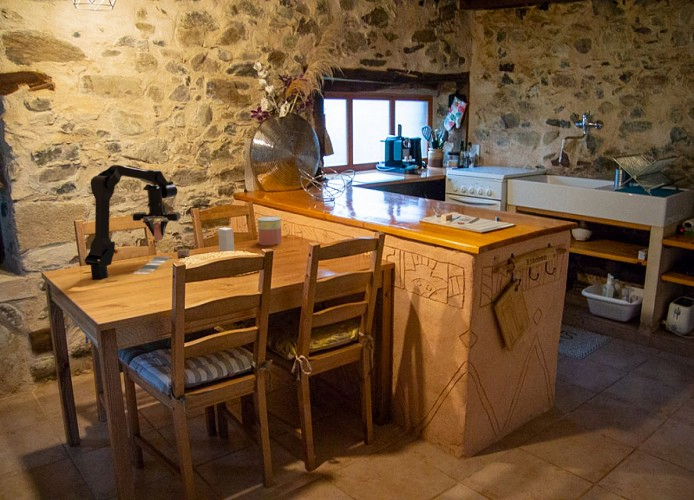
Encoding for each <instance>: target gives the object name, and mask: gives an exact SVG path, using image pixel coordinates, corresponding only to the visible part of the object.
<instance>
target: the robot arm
mask: <svg viewBox="0 0 694 500" xmlns="http://www.w3.org/2000/svg"><path fill="white" fill-rule="evenodd" d="M122 177H126V178H132V179H137V180H140V181H141V182H143V183H146V185H145V186H144V187H143V188H142V190H143V191H147V201H148V202H147V206H148V213H147V212H146V211H138V212H135V213H134V214H133V215H132V221H135V222H138V221H141V220H142V223H144V224H145V225H146V227H147V228H148V230H149V231H150V233H151V235H152V237H154V223H155V219H161V221H160V222H159V223H161V234H162V236H163V237H164V235H165V232H166V229H167V226H168V223H169V222H173V221H179V220H180V219H181V213H180V212H179V211H170V212H168V211H169V209H168V208H169V207H168V205H165V202H164V201H163V199H168V198H174V197H176V196H177V195H178V189H177V186H176V185H175V184H174V181H171V180H169V181H167V179H166V178H165V176H164V174H163V172H162V171H161V170H157V169H140V168H139V169H138V168H134V167H129V166H123V165H120V164H112V165H110V166H109V167H108V168H107V169H105V170H103V171H101V172H99V173H98V174H97V175H95V176H93V177H92V178H91V179H90V189H91V193H92V195H93V197H94V198H95V212H94V213H95V214H94V215H95V216H94V217H95V218H94V219H95V222H94V227H95V228H94V229H95V231H94V237H93V240H92V242H91V243H90V249H89V252H88V253H87V255H86V257H85V259H84V264H85V265H86V266H90V271H91V272H90V273H91V279H92V281H101V280H105V279H107V278H109V273H108V266H111V265H112V262H113V257H114V254H115V253H116V250H115V248H116V247H115V245H116V242H115V241H113V240H111V238H110V203H111V198H112V197H113V195H114V193H115V189H116V185H118V184H119V182H120V181H121V178H122Z"/></svg>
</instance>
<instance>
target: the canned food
mask: <svg viewBox="0 0 694 500" xmlns="http://www.w3.org/2000/svg"><path fill="white" fill-rule="evenodd" d="M257 225H258V226H257V228H258V230H257V231H258V244H259V245H263V246H276V245H275V244H277V245H281V244H282V243H283V241H282V239H283V237H282V217H280V216H262V217H259V218H257Z"/></svg>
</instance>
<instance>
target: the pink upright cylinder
mask: <svg viewBox="0 0 694 500" xmlns="http://www.w3.org/2000/svg"><path fill="white" fill-rule="evenodd" d="M163 238H164V236H162V234H161V223H160V222H159V221H156V222H154V236H153V239H154V240H155V241H159V240H160V241H162V240H163Z"/></svg>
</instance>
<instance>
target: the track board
mask: <svg viewBox="0 0 694 500" xmlns="http://www.w3.org/2000/svg"><path fill="white" fill-rule="evenodd" d="M171 259H173V258H172V257H170V256H162V257H161V256H159V257H158V256H155V257H154V258H152V259H151V260H149V261H148V262H147V263H145V264H144V265H143V266H142V267H141V266H140V268H139V269H137V270H136V271H134V272H133V273H132V274H133V275H147V274H148V275H150V274H151V273H152V272H153V271H155V270H156V269H157V268H159V267H161V266H162V265H163V264H164V263H165V262H166V261H169V260H171Z"/></svg>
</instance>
